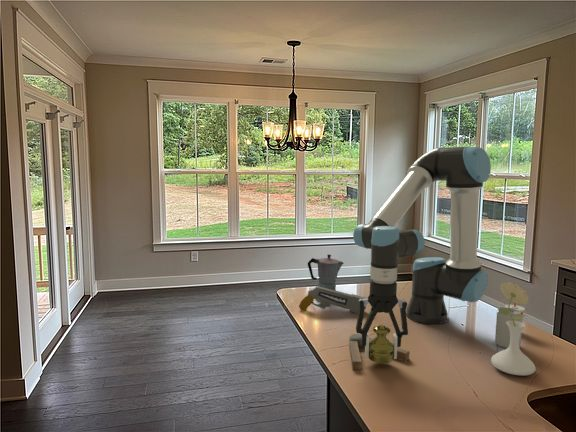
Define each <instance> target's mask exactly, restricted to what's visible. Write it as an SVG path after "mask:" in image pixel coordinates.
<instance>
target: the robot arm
mask: <svg viewBox="0 0 576 432" xmlns="http://www.w3.org/2000/svg"><path fill="white" fill-rule="evenodd" d="M491 171H492V165H491V160H490V157H489V154H488V153H487V152H486V150H485V149H484V148H482V147H480V146H471V145H469V146H451V147H450V146H448V147H445V146H444V147H443V146H442V147H436V148H433V149H430V150H429V151H427V152H426V153H424V154H423V155H421V156H420V157H419V158H417V159H416V160H415V161H414V162H413V163H412V164H411V165H410V166H409V168H408V169H407V172H406V176H405V178H403V180H402V181H401V182H400V183H399V185H398V186H397V187H396V188H395V190H394V191H393V192H392V193H391V195H390V196H389V197H388V198H387V199H386V201H385V202H384V204H382V206H381V207H380V208H379V209H378V211H377V212H376V213H375V214H374V216H373V217H372V218H371V219H370V221H369V222H368V223H366V224H365V223H364V224H363V223H362V224H358V225H357V226H356V227H355V228H354V230H353V233H352V234H353V236H352V239H353V241H354V243H355V245H356V246H358V247H362V248H364V249H367V250H369V249H370V251H371V253H370V274H369V276H370V277H369V279H371V280H369V295H368V297H367V298H366V299H362V298H359V305H360V307H359V313H357V314H358V315H357V320H356V325H355V331H356V334H360V335H362V345H363V346H365V347H364V354H365V355H364V356H365V358H366V359H369V338H370V334H369V330H370V328H371V326H372V324H373V321H374V320H375V317H376V316H377V314H379V313H381V314H382V313H385V314H388V315H389V317H390V320H391V323H392V325H393V328H394V331H395V333H393V335H392V343H393V344H394V350H393V352H394V355H393V360H398V359H397V347H399V348H401V346H402V338H403V336H408V334H409V328H408V320H407V317H408V318H409V319H410V320H412V321H415V322H419V323H421V324H423V323H424V324H429V325H431V324H433V325H436V324H443V323H445V322H447V321H448V311H447V307H446V304H445V303H446V302H445V299H444V297H445V296H446V297H449V298H452V299H456V300H459V301H462V302H467V303H468V302H469V303H477V302H478V301H479V300H481V299H482V297H483V296H484V294H485V292H486V291H487V287H488V284H489V276H488V273H487V272H486V271H485V270H482V263H481V262H480V260H478V259H477V256H478V255H477V254H478V250H477V249H478V207H479V205H478V202H479V201H478V200H479V198H478V197H479V191H480V190H481V189H482V188H483V186H484V183H485V182H487V181H488V180H489V178H490V174H491ZM438 181H442V182H443V181H444V182H445V188H446V189H447V190H448V191H449V192H450V234H449V235H450V244H449V245H450V247H449V248H450V250H449V252H450V255H449V256H450V257H449V258H448V259H447V260H446V258H445V257H439V256H438V257H436V256H432V257H431V256H430V257H429V256H428V257H420V258H417V259H415V260H414V262H413V266H412V281H411V282H412V284H411V285H412V287H411V297H410V300H409V302H407V301H406V300H405V299H399V298H398V297H397V291H398V290H397V286H398V282H397V280H398V262H399V258H403V257H408V256H414V255H417V254H419V253H421V252H422V251H423V250H424V248H425V245H426V241H425V237H424V235H423V233H421V232H420V231H419V230H417V229H407V230H405V229H399V228H397V227H396V226H397V225H398V224H399V222H400V220H402V218H403V217H404V216H405V214H406V213H407V212H408V211H409V209H410V208H411V207H412V205H413V204H414V202H415V201H416V200H417V199H418V198H419V196H420V195H421V194H422V192H423V191H424V190H425V189H427V188H430V186H431V185H432V184H433V183H434V182H438ZM367 303H368V304H370V306H371V308H370V312H369V314H368V315H367V318H366V320H365V323H364V325H363V320H364V316H365V315H364V314H365V310H366V309H365V308H364V307H366V308H367V305H368V304H367ZM397 304H398V307H399V312H400V323H401V329H400V327H399V325H398V324H399V323H398V321H397V318H396V316H395V314H394V310H393V309H394V308H395V307H396V306H397Z"/></svg>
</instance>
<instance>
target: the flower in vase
mask: <svg viewBox="0 0 576 432" xmlns="http://www.w3.org/2000/svg"><path fill="white" fill-rule="evenodd" d="M499 290H500V292H502V295H503V296H504V297H505V298H506V299H507V300H508V301H509V303H508V305H509V306H508V310H506V309H505V306H504V307H503V306H500V307H499V308H498V309H497V312H499V311H500V312H502V313H504V314H505V315H508V314H510V316H511V313H510V310H509V307H510V304H512V303H513V304H514V303H516V305H518V306H521V305H522V306H523V305H528V303H529V300H530V299H529V295H527V291H526V290H524V288H522V287H520V286H519V284H516V283H515V284H514V283H513V282H509V281H507V282H503V283H502V284H500V288H499ZM526 315H527V314H523V315H518V316H516V317H514V318H512V316H511V319H512V321H507V322H506V324H507V325H508V327H509V330H510V345H509V347H508V348H507V349H505V348H504V349H503V350H501V351H498V352H497V353H494V354H493V355H492V356H491V359H490V362H491V364H492V365H493V367H495V368H496V369H497V370H499V371H501V372H504V373H506V374H510V375H512V376H513V375H514V376H531V375H533V374H534V373H535V372H536V368H537V367H536V366H535V364H534V362H533V361H532V360H531V359H530V358H529V357H528V356H527V355H525V354H524V353H523V352H522V351H521V349H520V347H519V338H520V334H521V332H522V331H523V330H524V329H525V328H526V326H527V325H526V324H525V323H524V322H518V321H514V320H513V319H519V318H522V317H525V316H526ZM522 333H523V332H522ZM521 335H522V334H521Z"/></svg>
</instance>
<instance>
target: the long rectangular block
mask: <svg viewBox="0 0 576 432" xmlns="http://www.w3.org/2000/svg"><path fill="white" fill-rule="evenodd" d="M373 338H374V337H373ZM373 338H372V337H369V341H370V340H372V339H373ZM396 360H399V361H402V362H407V361H409V360H410V350H407V349H404V348H403V347H402V348H401V347H397V359H396Z"/></svg>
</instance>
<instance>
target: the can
mask: <svg viewBox="0 0 576 432" xmlns="http://www.w3.org/2000/svg"><path fill="white" fill-rule="evenodd" d="M504 308H505V307H504ZM505 309H506V310H508V308H505ZM509 310H510V313H511V316H512V318H514V317H516V316H518V315H521V312H520V311H519V310H517V309H513V308H509ZM511 316H510V314H508V315H505V314H504V313H502V312H500V311H497V312H496V320H495V321H496V324H495V337H494V343H496V344H497V345H498V346H499V347H500V348H502V349H504V350H505V349H507V348H508V347H509V345H510V330H509V327H508V325H507V324H506V322H507V321H512V319H511ZM523 319H524V318H523V317H522V318H519V319H513V320H514V321H518V322H522V323H524V322H523ZM522 333H523V332H521V334H520V338H519V348H520V347H521V345H522Z"/></svg>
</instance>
